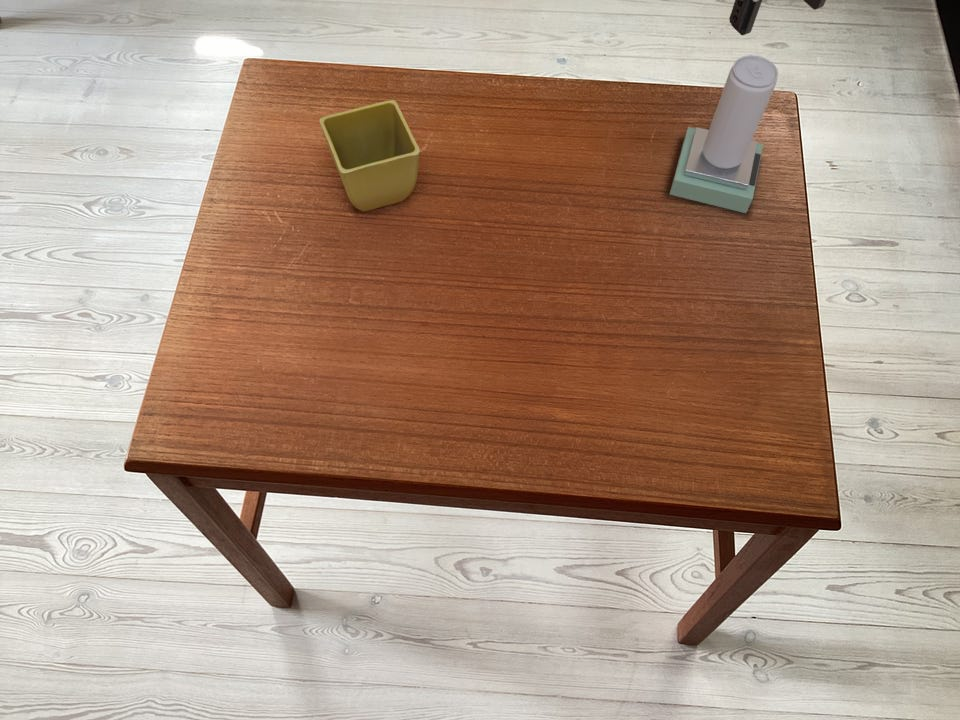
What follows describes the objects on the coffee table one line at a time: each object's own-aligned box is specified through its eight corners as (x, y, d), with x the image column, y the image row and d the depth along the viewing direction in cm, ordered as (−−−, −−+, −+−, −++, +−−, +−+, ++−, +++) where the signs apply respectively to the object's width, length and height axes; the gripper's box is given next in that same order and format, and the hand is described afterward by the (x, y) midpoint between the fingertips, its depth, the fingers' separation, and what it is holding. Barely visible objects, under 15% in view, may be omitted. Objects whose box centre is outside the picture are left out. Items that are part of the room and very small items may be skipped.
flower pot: (401, 156, 93) (395, 97, 85) (425, 208, 89) (421, 151, 81) (331, 175, 91) (317, 117, 83) (352, 229, 87) (340, 173, 79)
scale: (756, 159, 93) (764, 142, 91) (745, 213, 89) (753, 197, 86) (683, 141, 94) (688, 125, 92) (669, 194, 90) (674, 178, 88)
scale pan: (755, 146, 90) (757, 141, 90) (746, 190, 87) (748, 185, 86) (694, 132, 92) (696, 126, 91) (683, 174, 88) (685, 169, 87)
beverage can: (731, 136, 90) (765, 50, 80) (750, 165, 88) (788, 80, 77) (694, 146, 89) (723, 59, 79) (713, 175, 87) (745, 90, 77)
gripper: (805, -124, 56) (738, 63, 70) (953, -170, 59) (861, 18, 73) (743, -173, 59) (691, 15, 73) (886, -213, 62) (810, -26, 76)
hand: (776, 16), depth 73 cm, fingers open, 8 cm apart
